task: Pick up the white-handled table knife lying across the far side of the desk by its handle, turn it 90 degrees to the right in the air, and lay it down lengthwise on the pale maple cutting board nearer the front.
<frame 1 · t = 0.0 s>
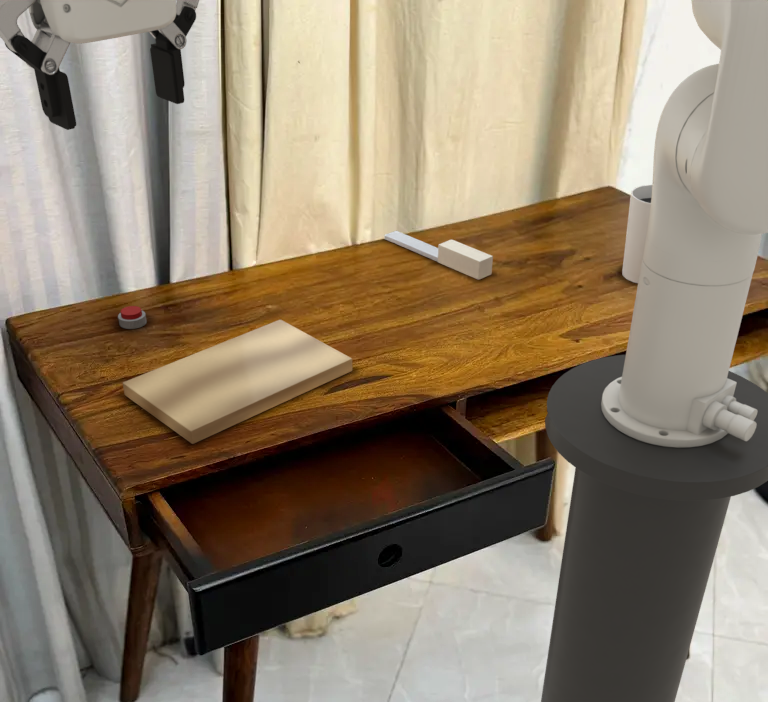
hand: (118, 112, 78), 29 cm above the table, tool pointing down, fingers open, 9 cm apart
white cup: (645, 276, 121), on the table
cutting board: (240, 382, 101), on the table
knife: (438, 257, 125), on the table
push button: (133, 324, 111), on the table
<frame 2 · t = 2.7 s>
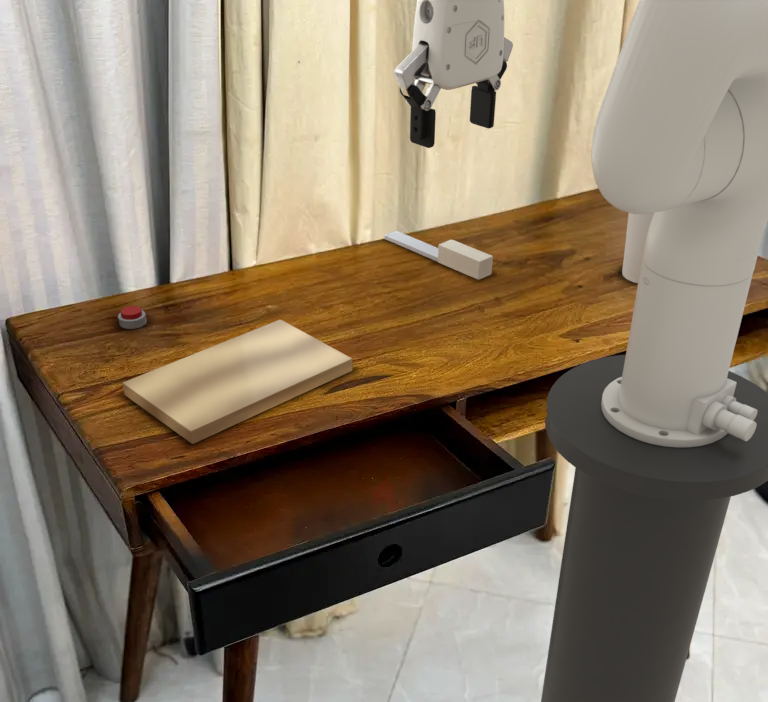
hand: (452, 134, 110), 17 cm above the table, tool pointing down, fingers open, 9 cm apart
nothing on the table moved.
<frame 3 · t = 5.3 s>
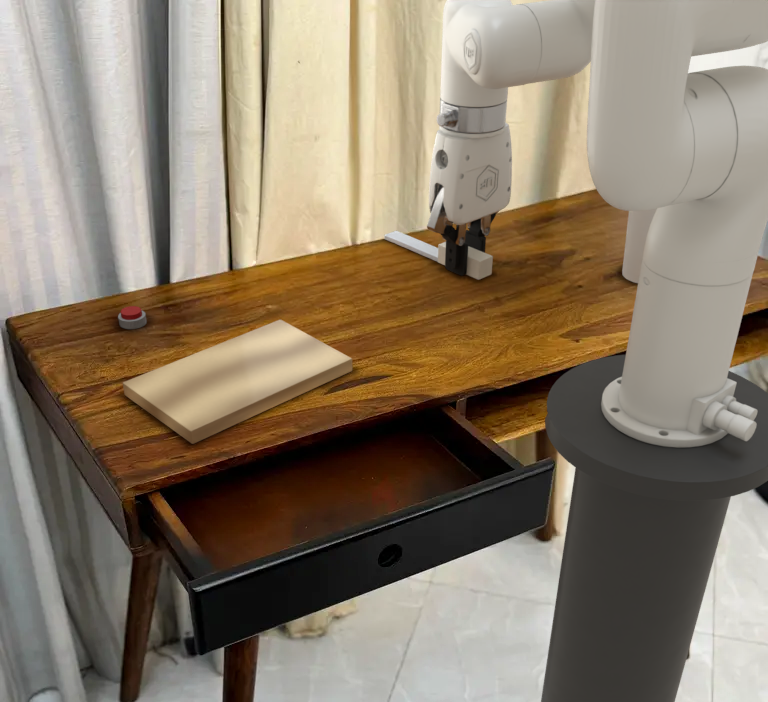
hand: (464, 267, 122), 0 cm above the table, tool pointing down, fingers closed on knife, 2 cm apart
knife: (438, 257, 125), on the table, touching gripper
everything else where it was.
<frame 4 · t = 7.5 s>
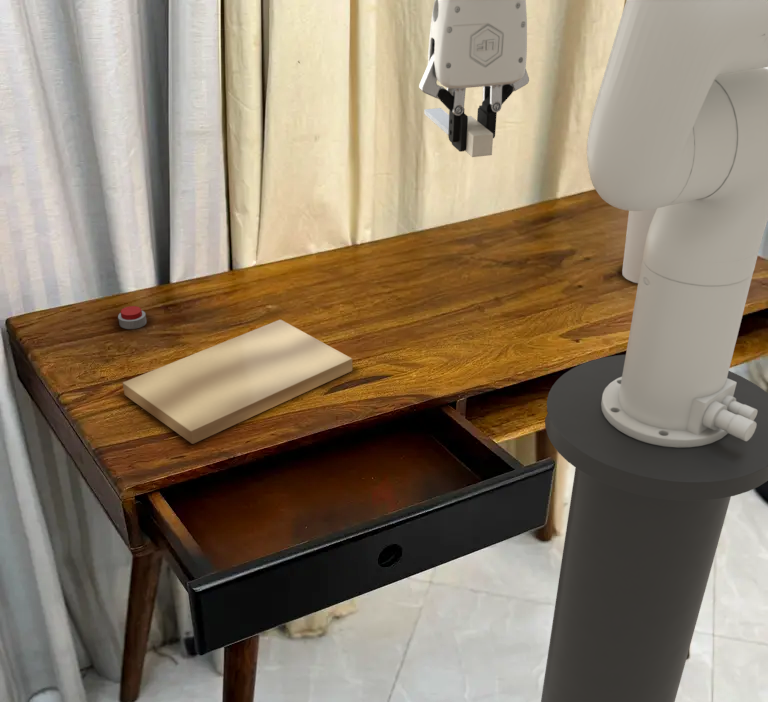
hand: (471, 145, 113), 15 cm above the table, tool pointing down, fingers closed on knife, 2 cm apart
knife: (457, 135, 117), point 15 cm above the table, touching gripper
everything else where it was.
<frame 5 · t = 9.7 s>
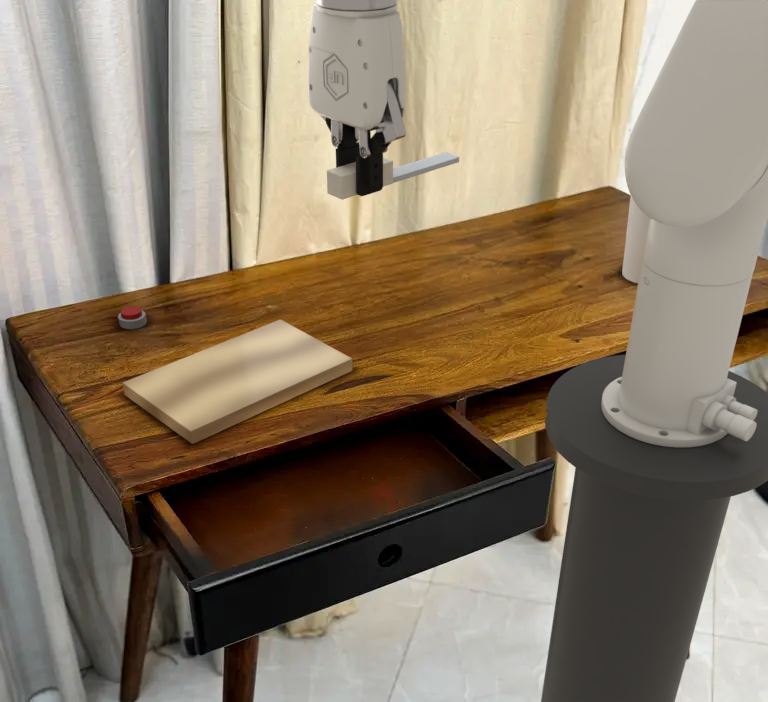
hand: (359, 187, 102), 15 cm above the table, tool pointing down, fingers closed on knife, 2 cm apart
knife: (392, 178, 105), point 15 cm above the table, touching gripper
everything else where it was.
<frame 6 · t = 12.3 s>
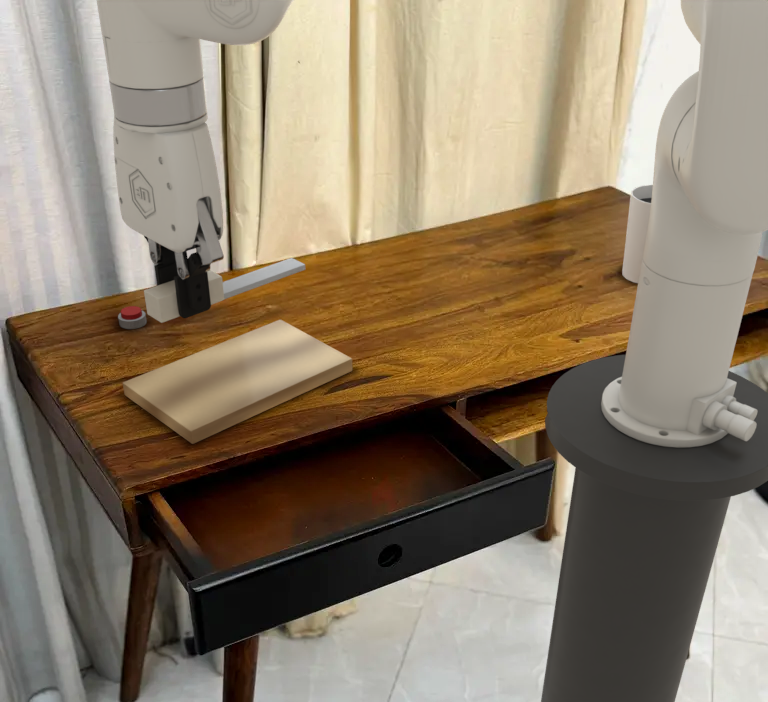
hand: (185, 305, 92), 10 cm above the table, tool pointing down, fingers closed on knife, 2 cm apart
knife: (225, 292, 94), point 10 cm above the table, touching gripper
everything else where it was.
when the fingers open (2 cm above the table, at t = 14.2 s): knife stays where it is, resting on cutting board.
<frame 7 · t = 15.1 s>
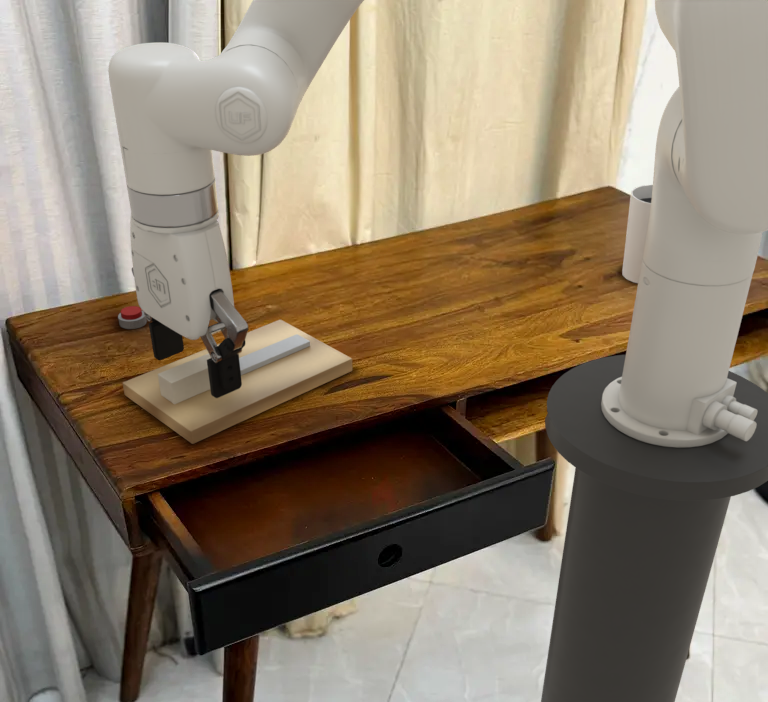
hand: (197, 373, 96), 3 cm above the table, tool pointing down, fingers open, 9 cm apart
knife: (234, 371, 100), point 1 cm above the table, touching cutting board
everything else where it was.
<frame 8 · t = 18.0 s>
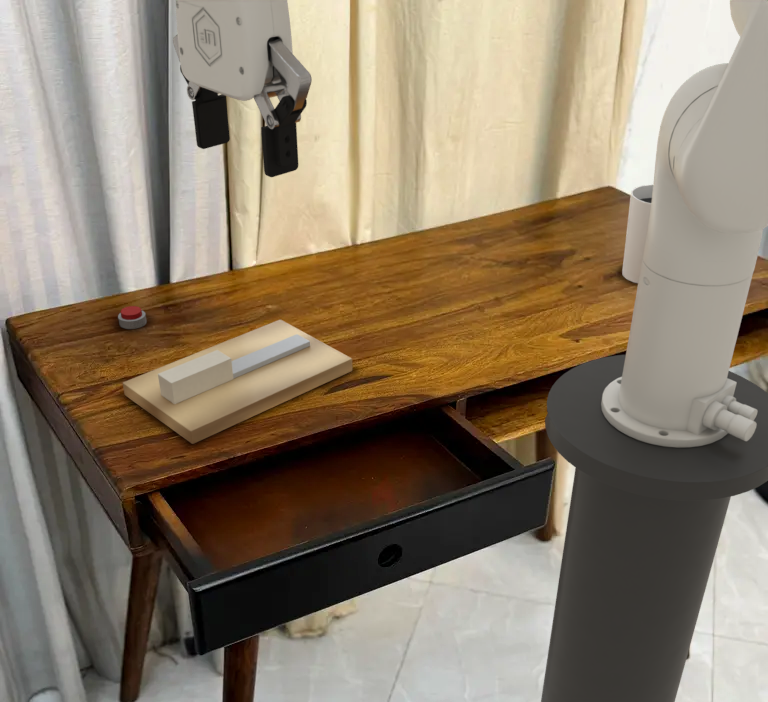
hand: (246, 158, 85), 23 cm above the table, tool pointing down, fingers open, 9 cm apart
nothing on the table moved.
at the end: knife inside the target area on the cutting board (0.3 cm from its centre), point 1.5 cm above the cutting board's base; knife tilted 0°; the gripper is holding nothing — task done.
